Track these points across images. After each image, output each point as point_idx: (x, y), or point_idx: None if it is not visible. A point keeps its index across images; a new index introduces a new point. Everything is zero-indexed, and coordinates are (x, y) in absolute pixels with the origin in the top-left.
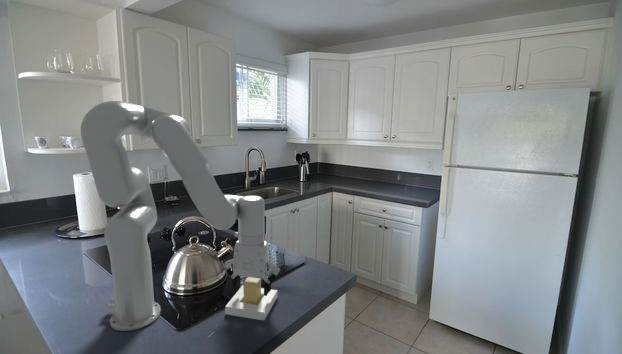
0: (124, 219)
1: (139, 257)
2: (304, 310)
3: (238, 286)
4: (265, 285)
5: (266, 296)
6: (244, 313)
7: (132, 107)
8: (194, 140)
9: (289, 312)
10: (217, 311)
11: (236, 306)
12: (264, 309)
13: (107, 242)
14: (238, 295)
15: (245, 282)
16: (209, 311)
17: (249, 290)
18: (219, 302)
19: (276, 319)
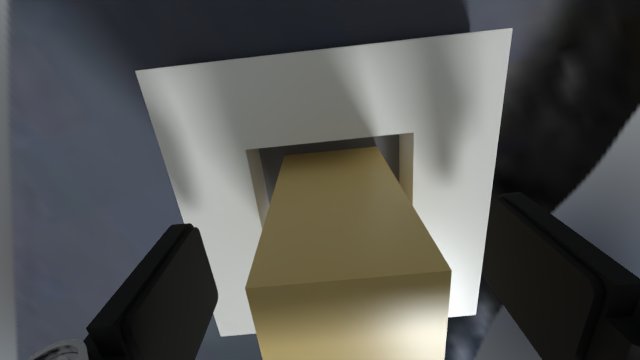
0: None
1: None
2: (25, 246)
3: (497, 254)
4: (112, 307)
5: (249, 261)
6: (319, 49)
7: None
8: None
9: (87, 203)
10: (546, 50)
11: (409, 66)
12: (160, 112)
13: None
14: (456, 207)
15: (420, 280)
16: (608, 27)
17: (342, 218)
18: (566, 148)
19: (111, 114)
